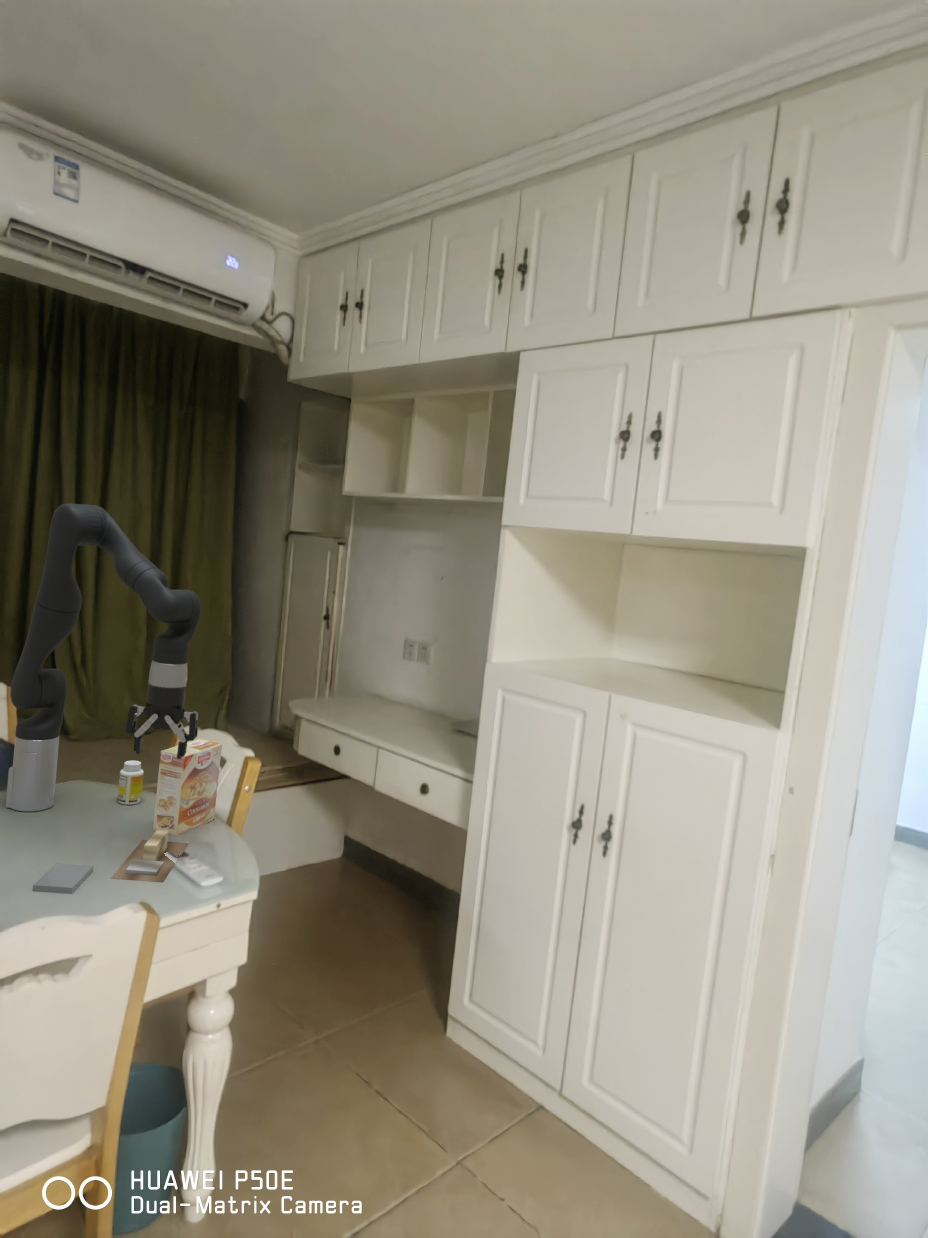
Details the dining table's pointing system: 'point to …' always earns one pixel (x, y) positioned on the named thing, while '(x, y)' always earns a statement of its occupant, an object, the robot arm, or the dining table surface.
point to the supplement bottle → (130, 783)
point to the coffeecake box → (187, 787)
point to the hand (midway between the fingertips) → (159, 755)
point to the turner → (151, 855)
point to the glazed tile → (63, 878)
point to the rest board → (172, 847)
